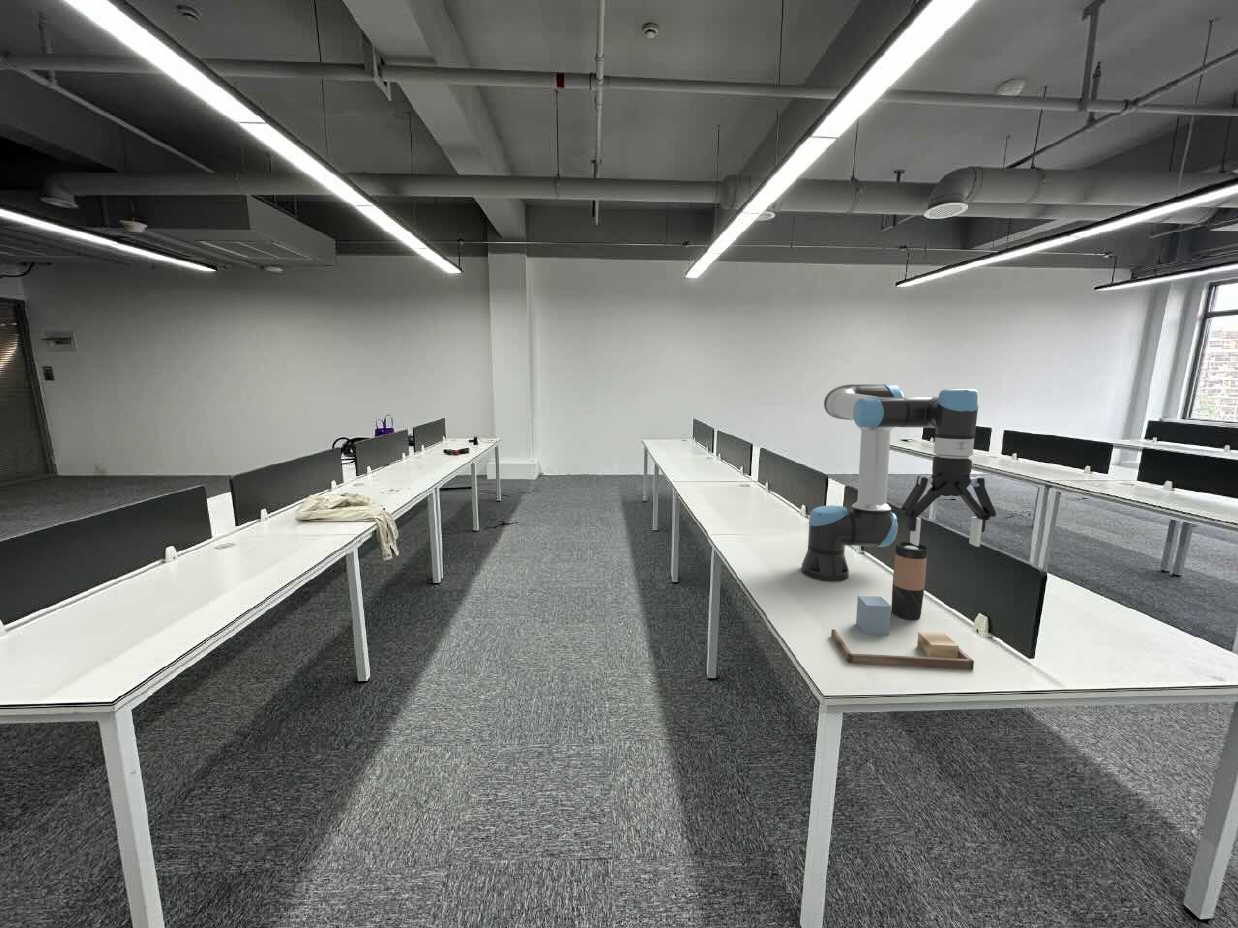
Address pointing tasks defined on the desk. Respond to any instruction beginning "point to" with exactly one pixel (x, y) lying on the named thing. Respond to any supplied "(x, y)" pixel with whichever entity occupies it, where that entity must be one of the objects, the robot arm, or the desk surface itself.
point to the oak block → (937, 645)
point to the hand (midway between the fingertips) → (944, 544)
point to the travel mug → (908, 580)
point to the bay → (903, 658)
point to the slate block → (873, 615)
